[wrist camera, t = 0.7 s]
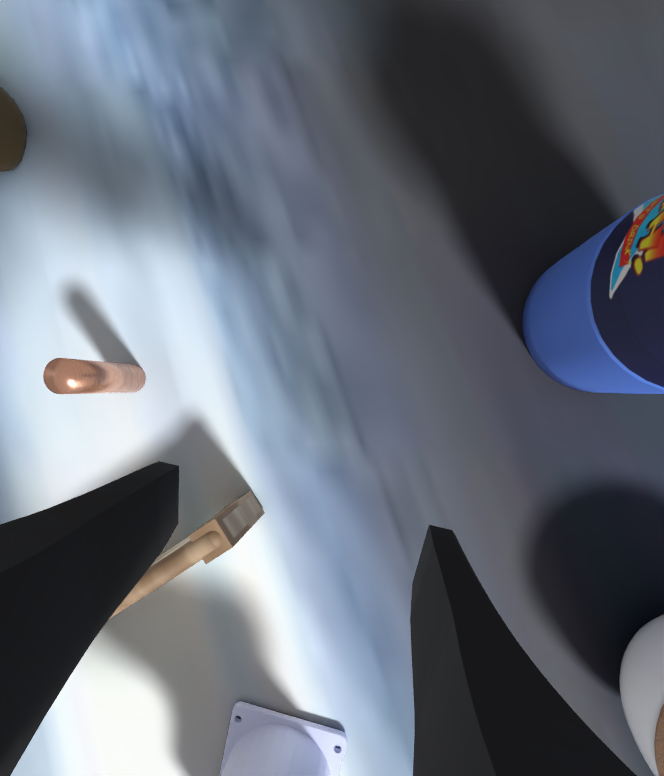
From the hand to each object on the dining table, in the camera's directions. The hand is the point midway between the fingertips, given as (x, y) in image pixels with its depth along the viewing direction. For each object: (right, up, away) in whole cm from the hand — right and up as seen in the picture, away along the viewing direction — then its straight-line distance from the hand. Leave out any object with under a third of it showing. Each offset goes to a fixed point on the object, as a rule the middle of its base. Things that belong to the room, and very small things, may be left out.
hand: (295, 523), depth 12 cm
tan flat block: (-10, -8, +18) cm, 22 cm away
